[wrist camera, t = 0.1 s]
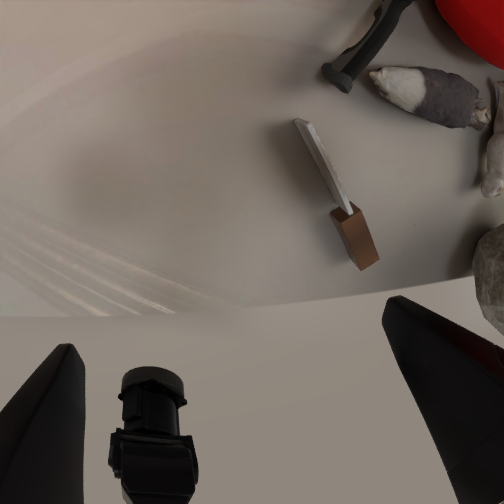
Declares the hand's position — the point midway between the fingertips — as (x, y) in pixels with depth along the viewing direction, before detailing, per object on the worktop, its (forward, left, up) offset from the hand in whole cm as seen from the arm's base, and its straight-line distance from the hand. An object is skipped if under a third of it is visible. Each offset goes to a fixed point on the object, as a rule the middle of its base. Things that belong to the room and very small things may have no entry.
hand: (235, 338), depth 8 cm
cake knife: (-8, -7, -15) cm, 19 cm away
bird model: (-3, -20, -10) cm, 23 cm away
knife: (+6, -21, -15) cm, 27 cm away
